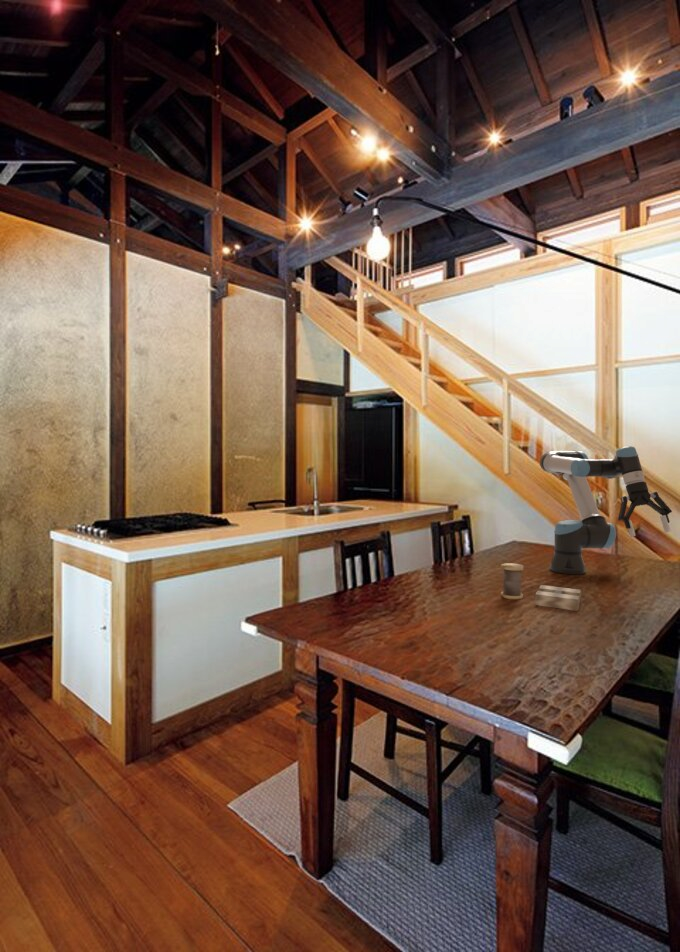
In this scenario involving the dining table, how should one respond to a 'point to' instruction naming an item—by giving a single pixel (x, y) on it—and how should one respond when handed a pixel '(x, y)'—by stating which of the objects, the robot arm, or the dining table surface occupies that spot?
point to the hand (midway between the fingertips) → (650, 534)
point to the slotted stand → (558, 597)
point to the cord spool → (512, 581)
